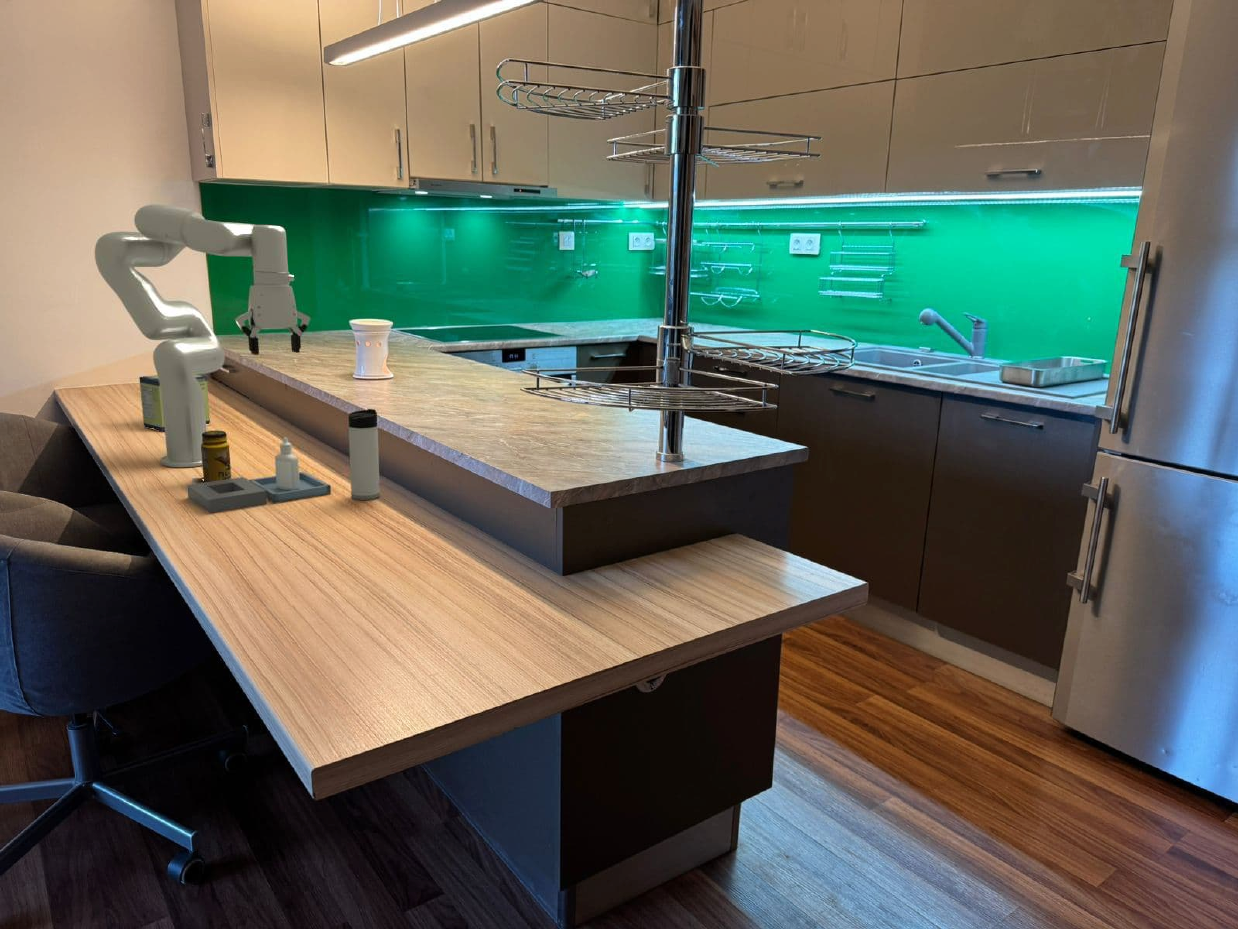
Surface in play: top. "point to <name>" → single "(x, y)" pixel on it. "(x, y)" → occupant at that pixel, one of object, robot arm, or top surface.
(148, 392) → the protein box
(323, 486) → the parts tray
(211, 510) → the bottle holder
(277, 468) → the eye dropper bottle
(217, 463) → the condiment
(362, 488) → the travel mug
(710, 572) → the top surface
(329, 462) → the top surface
